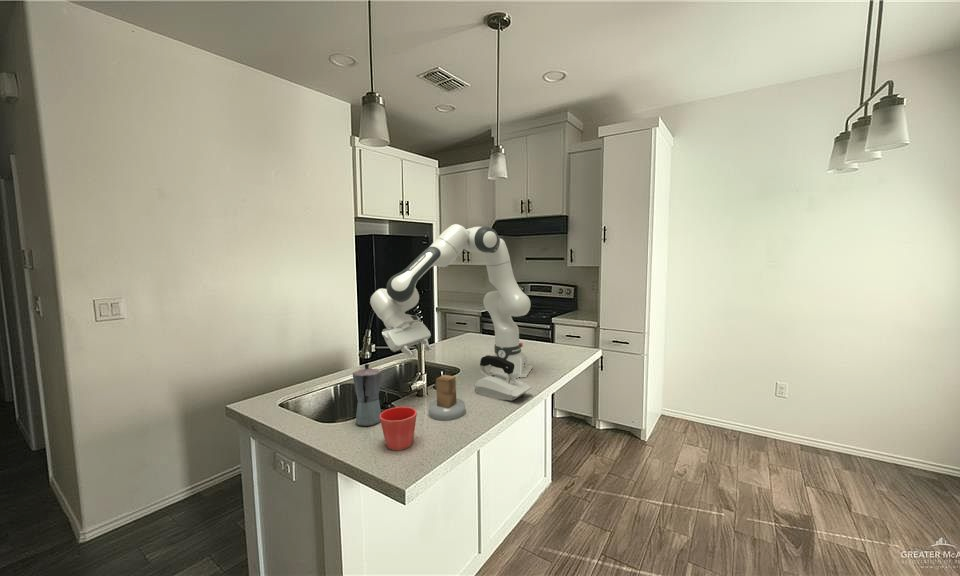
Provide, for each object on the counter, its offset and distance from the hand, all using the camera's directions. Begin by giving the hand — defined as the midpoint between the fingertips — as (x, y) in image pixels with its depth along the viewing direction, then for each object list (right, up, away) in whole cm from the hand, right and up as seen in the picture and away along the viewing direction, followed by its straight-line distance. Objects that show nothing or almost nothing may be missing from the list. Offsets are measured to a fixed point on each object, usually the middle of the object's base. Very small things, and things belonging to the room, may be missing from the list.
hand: (420, 353), depth 141 cm
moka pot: (-16, -22, -9) cm, 29 cm away
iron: (+30, -19, +13) cm, 38 cm away
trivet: (+10, -21, -3) cm, 23 cm away
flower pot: (-3, -24, -25) cm, 34 cm away
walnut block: (+10, -18, -4) cm, 21 cm away
